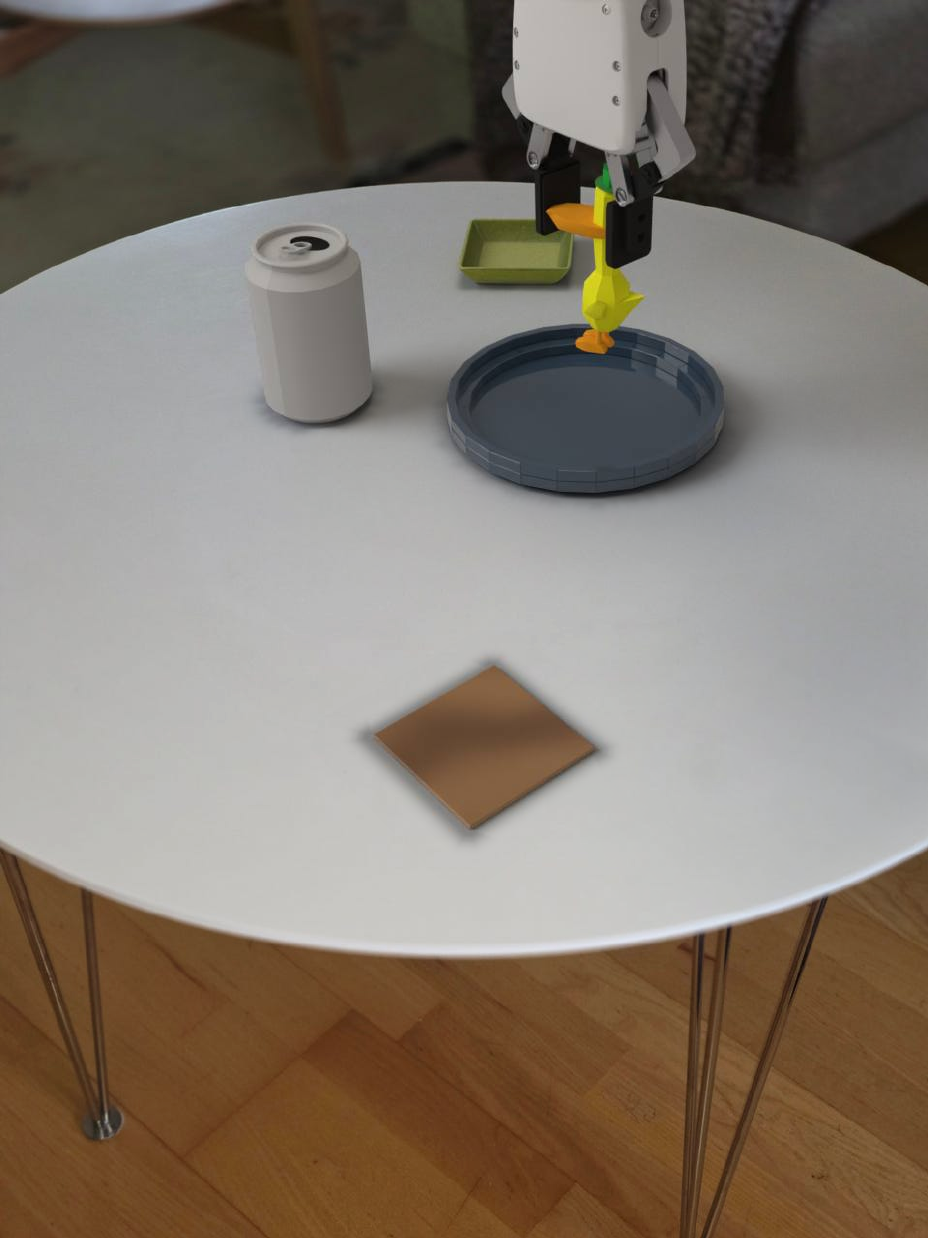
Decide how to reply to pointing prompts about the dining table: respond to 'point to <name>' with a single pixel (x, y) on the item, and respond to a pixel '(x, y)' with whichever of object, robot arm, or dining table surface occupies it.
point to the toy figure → (598, 269)
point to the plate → (585, 409)
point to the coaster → (483, 745)
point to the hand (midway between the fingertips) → (592, 241)
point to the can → (309, 321)
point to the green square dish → (514, 252)
